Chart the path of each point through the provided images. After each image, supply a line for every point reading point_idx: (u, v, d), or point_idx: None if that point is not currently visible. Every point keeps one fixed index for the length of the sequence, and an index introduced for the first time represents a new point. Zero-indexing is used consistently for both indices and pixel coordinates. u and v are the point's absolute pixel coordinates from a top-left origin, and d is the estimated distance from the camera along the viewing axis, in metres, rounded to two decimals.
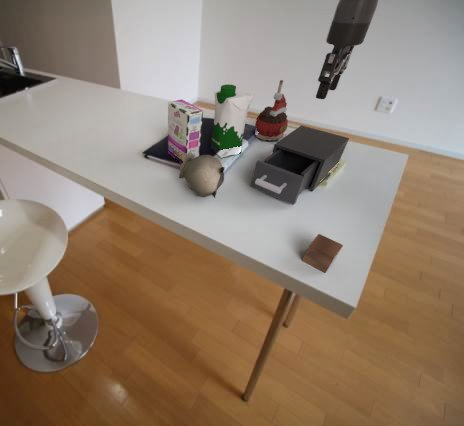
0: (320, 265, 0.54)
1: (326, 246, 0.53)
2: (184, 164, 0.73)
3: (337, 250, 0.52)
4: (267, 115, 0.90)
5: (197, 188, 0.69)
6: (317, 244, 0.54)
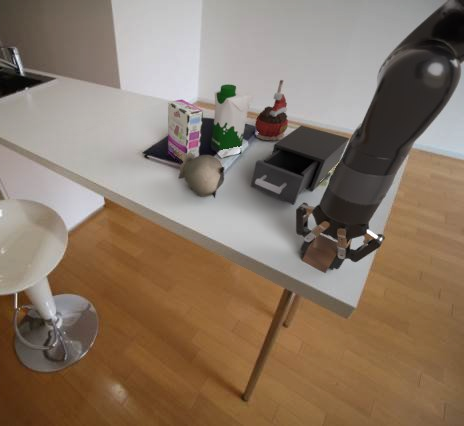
0: (320, 265, 0.54)
1: (326, 246, 0.53)
2: (184, 164, 0.73)
3: (337, 250, 0.52)
4: (267, 115, 0.90)
5: (197, 188, 0.69)
6: (317, 244, 0.54)
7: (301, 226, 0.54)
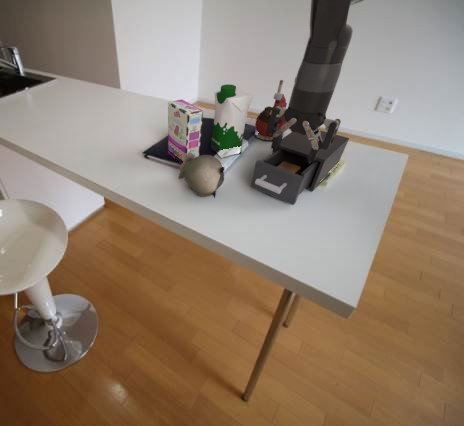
0: None
1: (288, 168, 0.71)
2: (184, 164, 0.73)
3: (296, 170, 0.70)
4: (267, 115, 0.90)
5: (197, 188, 0.69)
6: (281, 167, 0.71)
7: (272, 124, 0.68)
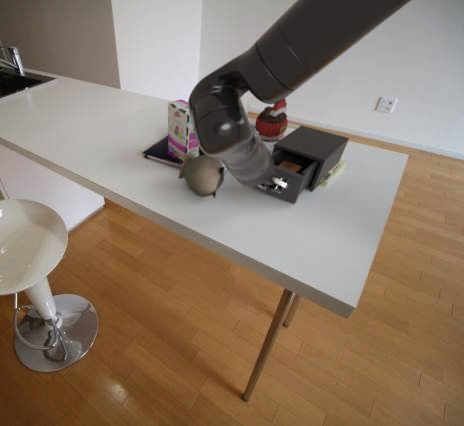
0: None
1: (288, 167, 0.71)
2: (184, 164, 0.73)
3: (297, 169, 0.70)
4: (267, 115, 0.90)
5: (197, 188, 0.69)
6: (282, 166, 0.71)
7: None
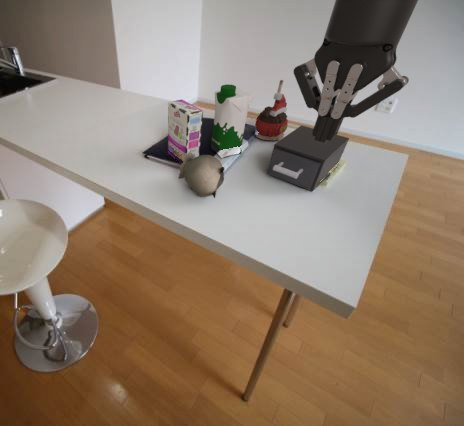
0: None
1: None
2: (184, 164, 0.73)
3: None
4: (267, 115, 0.90)
5: (197, 188, 0.69)
6: (297, 154, 0.75)
7: (309, 92, 0.39)
